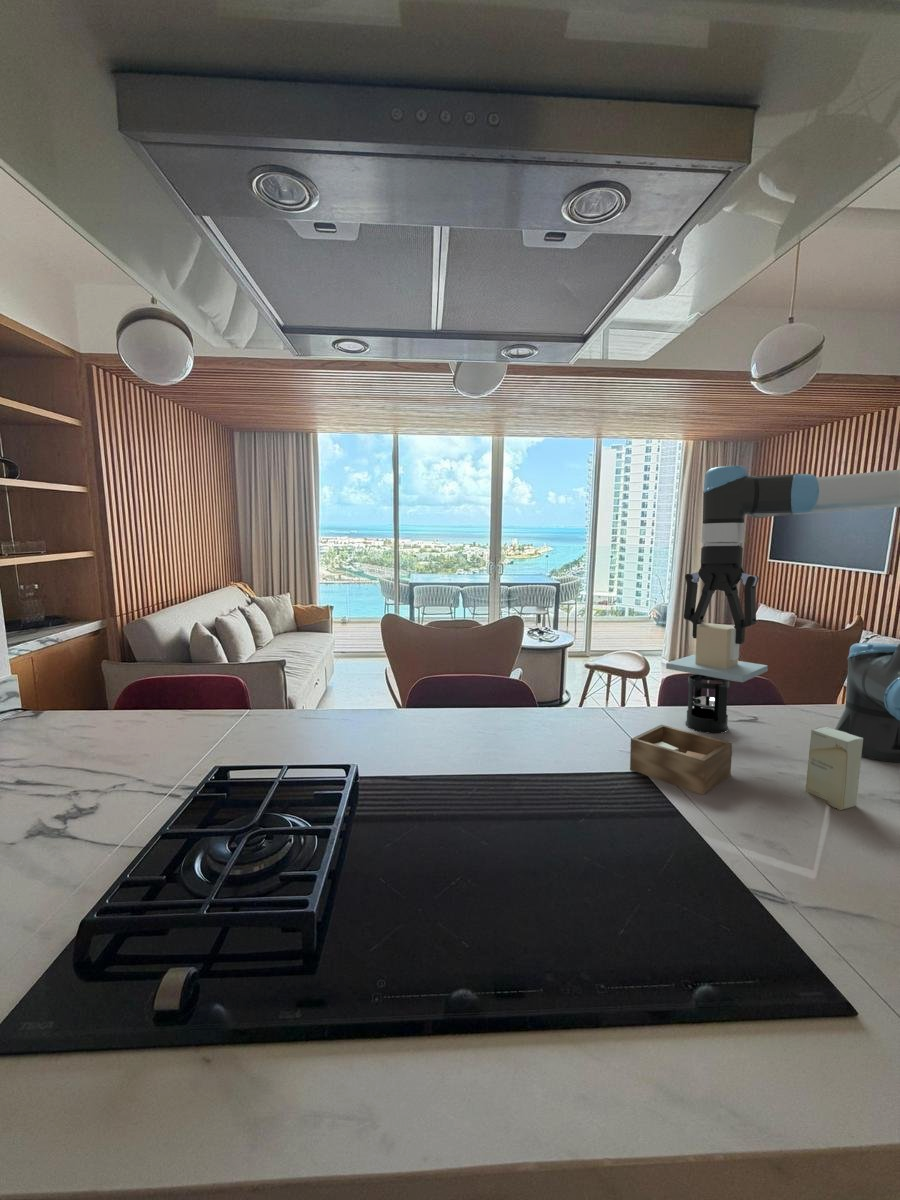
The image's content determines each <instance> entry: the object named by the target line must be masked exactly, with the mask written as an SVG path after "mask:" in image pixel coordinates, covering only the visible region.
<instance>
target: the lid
mask: <svg viewBox="0 0 900 1200" xmlns="http://www.w3.org/2000/svg"><path fill="white" fill-rule="evenodd" d="M734 626H735V625H729V624H721V623H720V624H719V623H712V622H711V623H710V622H708V623H706V624H704V625H700V626H697V638H695V639H696V641H695V653H694V654H690V655H688V656H684V657H682V658H679V659H674V660H672V661H669V662H666V663H665V664H666V667H665V669H667V670H672V671H678V672H682V673H689V674H692V675H695V674H698V675H704V676H709V677H715V678H721V679H726V680H729V681H732V682H736V683H737V682H739V683H744V682H747V681H749V680H751V679H754V678H756V677H757V676H760V675H762V674H764V673H766V672H768V670H769V669H768V668H769V665H766V664H761V663H755V662H749V661H741V660H739V659H736V660H729V657H730V636H731V628H733V627H734Z"/></svg>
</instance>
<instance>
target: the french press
mask: <svg viewBox="0 0 900 1200" xmlns="http://www.w3.org/2000/svg"><path fill="white" fill-rule="evenodd" d="M704 680H706V681H707V682H703V681H704ZM710 681H715V682H719V683H711V682H710ZM687 683H688V703H687V710H686V721H685V726H686V727H687V726H688V727H687V728H689V729H690V728H691V729H690V730H693V729H694V730H693V731H696V730H697V731H696V732H700V731H701V732H700V733H705V732H709V733H708V734H722V733H721V732H724V733H726V732H725V731H727V730H729V726H728V723H729V722H728V721H729V719H728V713H727V707H728V688H729V687H730V680H726V679H721V678H715V677H709V676H704V675H698V674H691V675H689V676H687ZM702 689H706V696H702ZM710 690H714V696H710V695H709V694H710V693H709V692H710ZM727 732H728V731H727Z"/></svg>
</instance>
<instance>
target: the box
mask: <svg viewBox="0 0 900 1200" xmlns="http://www.w3.org/2000/svg"><path fill="white" fill-rule="evenodd" d="M659 742H664V743H667V744H669V745H671V746H674V747H676V748H679V749H678V751H676V750H672V749H669V748H665V747H662V746H659V745H655V743H659ZM687 751H691V752H695V753H700V754H704V755H706V756H704V757H703V758H699V757H696V756H692V755H689V754H686V752H687ZM629 753H630V761H629V770H631V771H633V772H636V773H639V774H640V775H641V774H642V775H645V776H647V777H650V778H653V779H657V780H659V781H661V782H664V783H667V784H671V785H673V786H676V787H678V788H682V789H684V790H688V791H691V792H693V793H696V794H698V795H703V796H704V795H705V794H706V793H708V792H709V791H710V790H712V789H713V788H715V787H716V786H717V785H719V784H720V783H722V781H724V780H725V779H728V778H729V777H730V776H731V773H732V756H733V755H732V753H733V743H732V742H729V741H724V740H721V739H717V738H715V737H709V736H707V735H702V734H699V733H696V732H692V731H687V730H683V729H679V728H676V727H673V726H669V725H666V724H659V725H656V726H655V727H653V728H651V729H649V730H646V731H645V732H642V733H640V734H637V735H636V736H634V737H632V738H630V751H629Z"/></svg>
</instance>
